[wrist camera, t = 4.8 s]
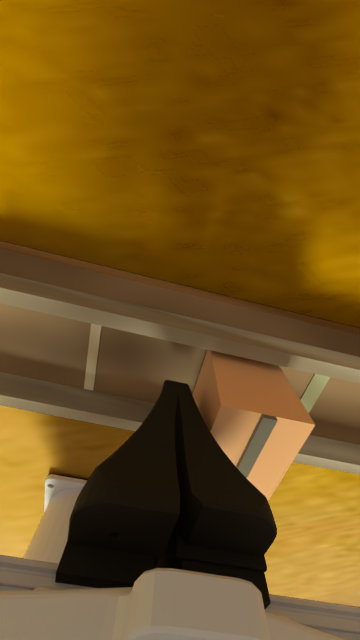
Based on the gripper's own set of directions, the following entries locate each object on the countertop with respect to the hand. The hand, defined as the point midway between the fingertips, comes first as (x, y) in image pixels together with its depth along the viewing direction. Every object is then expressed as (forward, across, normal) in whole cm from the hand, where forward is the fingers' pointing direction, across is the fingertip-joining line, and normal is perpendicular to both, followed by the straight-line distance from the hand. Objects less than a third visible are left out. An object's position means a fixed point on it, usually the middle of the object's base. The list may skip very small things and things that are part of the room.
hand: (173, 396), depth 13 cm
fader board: (+4, -2, 0) cm, 4 cm away
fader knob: (+2, -4, 0) cm, 4 cm away
